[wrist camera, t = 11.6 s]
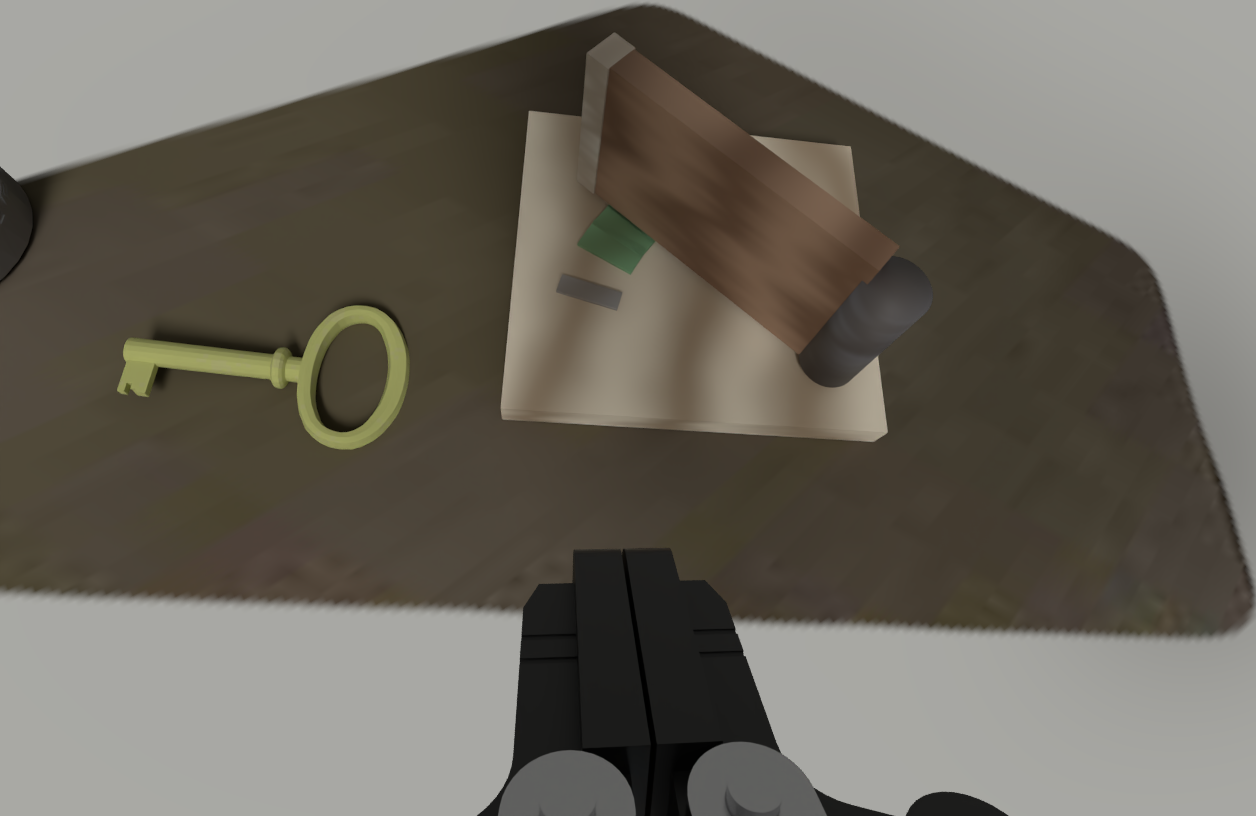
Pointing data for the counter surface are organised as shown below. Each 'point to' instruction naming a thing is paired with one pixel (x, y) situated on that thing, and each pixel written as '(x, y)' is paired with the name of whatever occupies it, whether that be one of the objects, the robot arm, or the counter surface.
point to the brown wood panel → (743, 217)
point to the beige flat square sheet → (654, 318)
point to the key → (283, 370)
